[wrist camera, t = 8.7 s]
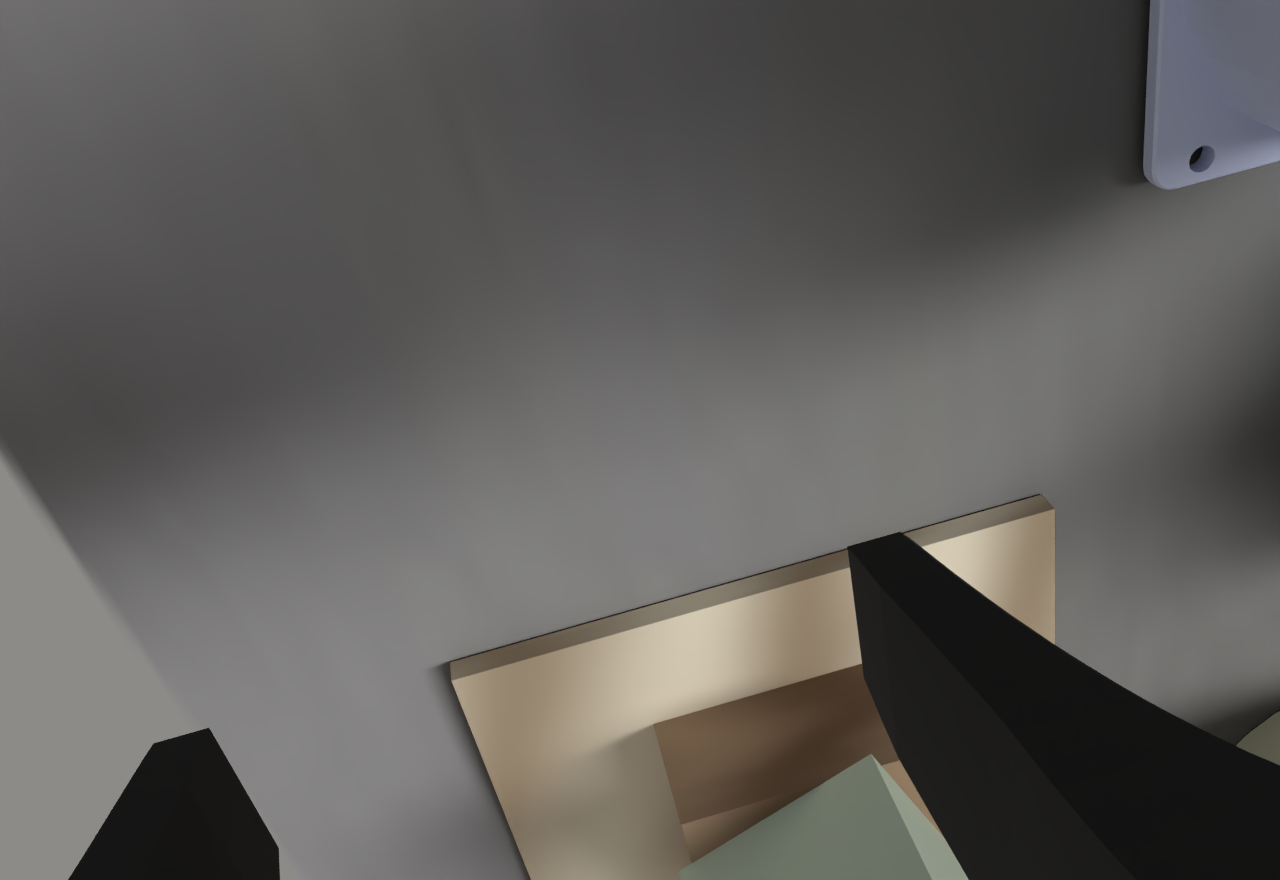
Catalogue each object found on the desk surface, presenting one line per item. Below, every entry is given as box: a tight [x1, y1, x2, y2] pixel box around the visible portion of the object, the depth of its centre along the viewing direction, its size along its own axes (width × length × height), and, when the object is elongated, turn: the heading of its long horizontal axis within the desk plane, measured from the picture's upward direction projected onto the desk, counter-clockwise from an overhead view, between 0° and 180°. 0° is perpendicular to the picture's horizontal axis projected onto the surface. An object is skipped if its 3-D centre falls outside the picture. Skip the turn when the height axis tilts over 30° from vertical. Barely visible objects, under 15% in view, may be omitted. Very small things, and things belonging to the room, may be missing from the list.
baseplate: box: [450, 495, 1055, 880], centre depth 28 cm, size 14×12×4 cm
